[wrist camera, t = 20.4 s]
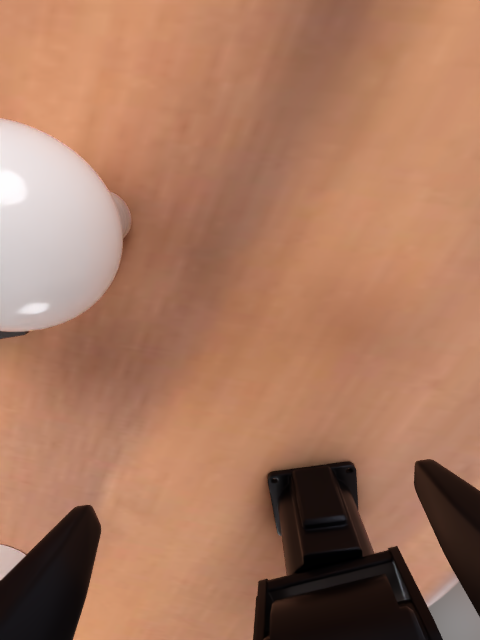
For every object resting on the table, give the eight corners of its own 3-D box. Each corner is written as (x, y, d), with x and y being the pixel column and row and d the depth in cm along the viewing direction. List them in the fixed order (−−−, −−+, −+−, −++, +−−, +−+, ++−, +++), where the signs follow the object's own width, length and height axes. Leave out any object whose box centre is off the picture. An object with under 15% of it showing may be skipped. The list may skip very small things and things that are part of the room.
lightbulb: (182, 176, 17) (87, 152, 7) (153, 287, 19) (50, 397, 9) (59, 132, 16) (-258, 26, 6) (45, 252, 18) (-204, 327, 8)
